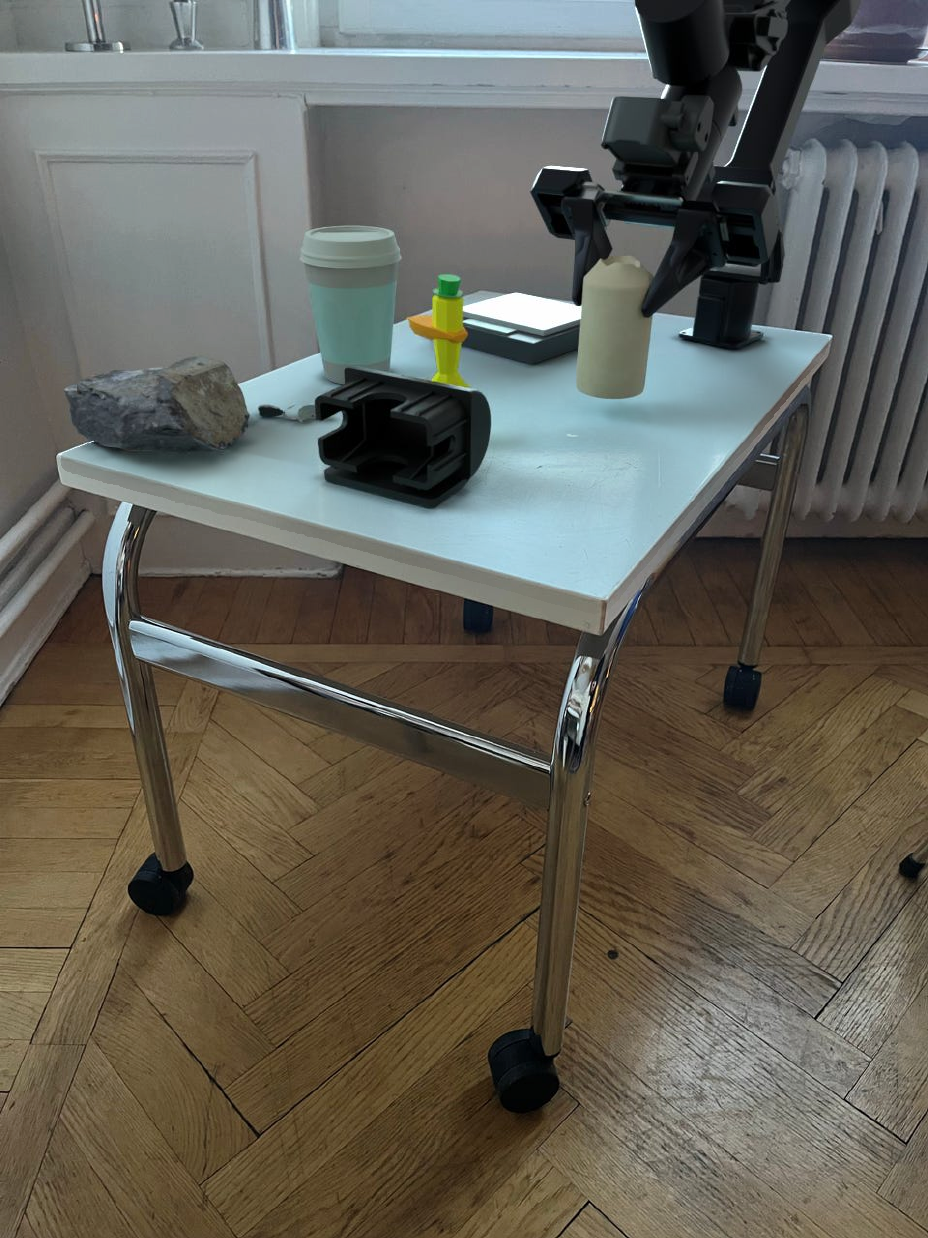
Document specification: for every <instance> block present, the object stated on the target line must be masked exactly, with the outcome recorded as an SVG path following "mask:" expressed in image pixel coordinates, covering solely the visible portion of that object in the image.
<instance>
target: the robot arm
mask: <svg viewBox="0 0 928 1238" xmlns="http://www.w3.org/2000/svg"><path fill="white" fill-rule="evenodd" d="M862 1H863V0H634V7H635V11H636V16H637V19H638V23H639V27H640V30H641V35H642V39H643V42H644V47H645V51H646V55H647V59H648V63H649V67H650V71H651V74H652V78H653V79H654V80H657V81H658V82H660V83H661V84H663V85H666V86H665V87H664V90H663V91H662V95H661V97H650V96H649V97H646V96H628V95H627V96H626V95H625V96H623V95H618V96H614V97H612V99H611V102H610V107H609V111H608V115H607V119H606V123H605V126H604V131H603V134H602V138H601V143H600V147H601V148H602V149H603V150H607V151H609V152H610V154H611V155H612V156H613V157H614V158H615V161H614V164H613V165H612V167H611V171H612V173H613V176H614V179H615V181H621V184H622V186H621V188H620V190H615V189H607V188H604V187H603V185H601V184H599V183H597V182H595V181H593V178H592V175H591V173H590V171H589V169H588V168H579V167H578V168H577V167H566V166H555V165H549V166H545V167H541V169H540V171H539V172H538V174H537V175H536V177H535V179H534V181H533V183H532V186H531V189H530V191H529V193H530V195H531V197H532V199H533V202H534V203H535V206H536V207H537V210H538V212H539V214H540V215H541V216H540V217H541V218H542V220H543V222H544V225H545V227H546V229H547V231H548V233H549V234H551V235H552V236H553V237H555V238H557V239H563V240H570V241H574V260H573V261H574V262H573V263H574V264H573V277H572V292H571V301H572V302H573V305H575V306H578V307H580V306H582V292H583V279H584V276H585V275H586V274H587V273H588V272H589V271H590V270H591V269H592V268H593V267H594V266H595V265H596V264H597V263H598V261H599V260H600V259H603V260H606V259H608V258H609V257H610V255H611V253H612V251H613V249H614V248H613V246H612V244H611V241H610V238H609V235H608V233H607V229H608V227H609V225H610V223H611V221H619V222H624V224H626V225H635V226H643V227H652V228H659V229H669V230H673V233H672V238H671V241H670V243H669V245H668V248H667V249H666V251H665V254H664V256H663V257H662V260H661V262H660V264H659V267H658V268H657V271H656V273H655V275H654V279H653V281H652V283H651V285H650V287H649V289H648V291H647V294H646V297H645V300H644V303H643V306H642V310H641V311H642V314H643V317H644V318H650V317H651V316H652V315H653V316H654V314H656V313H657V312H658V311H659V310H661V308H663V307H664V306H665V305H666V304H668V302H669V301H671V300H672V299H673V298H675V296H677V294H679V293H680V292H681V291H683V289H685V288H686V287H687V286H688V285H689V286H690V284H691V283H693V282H694V281H696V280H697V279H699V278H700V281H699V288H698V294H697V299H696V307H695V313H694V321H693V326H692V327H690V328H687V329H684V330H682V331H679V333H678V338H679V339H684V340H689V341H693V342H698V343H701V344H702V343H703V344H706V345H711V346H717V347H721V348H726V349H730V350H737V349H739V348H742V347H744V346H746V345H748V344H751V343H753V342H755V341H758V340H760V339H763V337H764V334H765V333H764V332H763V331H760V330H755V329H752V326H753V322H754V316H755V311H756V304H757V299H758V292H759V288H760V285H761V286H766V285H768V284H773V283H774V284H775V283H780V282H781V280H782V279H781V278H782V275H783V268H784V261H785V256H786V251H785V244H784V243H785V242H784V233H783V226H782V211H781V206H780V201H779V197H778V190H777V186H776V182H777V180H778V177H779V174H780V172H781V170H782V166H783V163H784V161H785V159H786V156H787V154H788V153H787V152H788V149H789V147H790V144H791V142H792V139H793V136H794V133H795V131H796V128H797V126H798V123H799V119H800V117H801V114H802V111H803V109H804V106H805V103H806V100H807V98H808V95H809V92H810V89H811V87H812V84H813V82H814V80H815V79H814V78H815V76H816V73H817V70H818V68H819V65H820V63H821V59H822V57H823V54H824V52H825V49H826V46H827V45H829V44H830V43H831V42H832V41H833V40H835V39H836V38H837V37H838V36H840V35H841V33H843V32H845V30H846V29H848V28H849V27H850V26H851V25H852V23H854V22H853V21H854V20H855V17H856V14H857V13H858V11H859V8H860V5H861V3H862ZM761 71H763V72H762V74H761V77H760V80H759V83H758V86H757V89H756V91H755V94H754V96H753V99H752V101H751V105H750V107H749V110H748V113H747V115H746V118H745V121H744V124H743V126H742V128H741V131H740V134H739V136H738V140H737V142H736V145H735V149H734V151H733V153H732V156H731V159H730V160H729V162H728V163H726V164H725V165H715V164H714V161H715V158H716V155H717V154H718V151H719V148H720V146H721V145H722V141H723V139H724V137H725V135H726V132H727V130H728V127H731V128H733V127H736V126H737V125H738V124H739V123H738V122H739V114H740V110H739V102H740V100H741V98H742V94H743V82H742V79H741V75H740V74H739V72H749V73H750V72H751V73H753V72H754V73H760V72H761ZM759 265H760V266H759Z"/></svg>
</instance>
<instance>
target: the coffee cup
mask: <svg viewBox="0 0 928 1238" xmlns="http://www.w3.org/2000/svg"><path fill="white" fill-rule="evenodd" d="M299 252H300V257H299V261H300V262H302V263H303V264H304V271H305V276H306V283H307V286H308V287H307V288H308V292H309V299H310V303H311V309H312V314H313V319H314V320H313V321H314V326H315V332H316V336H317V341H318V349H319V352H320V358H321V363H322V368H323V374H324V377H325V379H326V380H327V381H329V382H331V383H335V384H338V385H344V384H345V373H344V370H345V368H347V367H351V366H357V367H363V368H368V369H373V370H378V371H383V372H388V373H391V372H390V371H391V358H392V346H393V335H394V323H395V322H394V321H395V309H396V294H397V284H398V283H397V282H398V269H399V262H400V261H401V260H402V258H403V256H402V255H401V248H400V247H399V245H398V241H397V238H396V233H395V232H394V231H393V230H391V229H387V228H384V227H378V226H369V225H368V226H367V225H334V226H323V227H317V228H313V229H310V230H307V231H306V232H305V233H304V235H303V241H302V246H301V247H300V251H299Z"/></svg>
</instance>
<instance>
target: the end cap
mask: <svg viewBox="0 0 928 1238" xmlns="http://www.w3.org/2000/svg"><path fill="white" fill-rule="evenodd" d="M344 373H345V384H344V385H343V384H340V386H339V385H338V386H337V387H334V388H333V389H331V390H329V391H326V392H325V393H322V394H320V395H318V396H317V397H316V398H315V399H314V405H315V413H316V417H315V421H318V422H323V421H325V420H326V419H328V418H331V417H333V416H334V415H337V414H338V413H341V414H342V421H341V423H340V426H339V427H337V428H335V429H333V430H331V431H330V432H328V433H325V434H323V435H322V436H320V437H318V438H317V447H318V457H319V459H320V461H321V462H322V463H323V464H324V465H326V466H329V467H327V468H325V469H324V470H323V476H324V481H326V482H328V483H333V484H335V485H336V484H337V485H339V486H344V487H347V488H351V489H355V490H359V491H362V492H367V493H370V494H374V495H378V496H381V497H386V498H389V499H393V500H397V501H400V502H404V503H409V504H411V505H415V506H419V507H424V508H429V509H433V508H437V507H438V506H440V505H441V504H442V503H444V502H445V501H447V500H448V499H450V498H451V497H452V496H454V495H455V494H456V493H458V492H460V491H461V490H462V489H463V488H464V487H465V486H466V485H467V483H469V480H470V479H472V477H473V476H475V474H476V473H477V471H478V470H479V468H480V466H481V465H482V464H483V461H484V459H485V456H486V454H487V451H488V449H489V448H488V447H489V444H490V439H491V433H492V412H491V407H490V404H489V401H488V399H487V396H486V395H485V394H484V393H483V392H482V391H480V390H479V389H476V388H472V387H471V388H472V389H471V388H466V387H460V386H455V385H450V384H445V383H440V382H435V381H431V380H429V379H425V378H420V377H414V376H408V375H404V374H398V373H393V372H389V373H388V372H383V371H378V370H373V369H368V368H363V367H357V366H351V367H347V368H345V370H344Z"/></svg>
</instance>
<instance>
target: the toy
mask: <svg viewBox="0 0 928 1238" xmlns="http://www.w3.org/2000/svg"><path fill="white" fill-rule="evenodd" d="M295 405H296V403H295V404H294V405H290V406H289V407H287V408H286V409H285V410H284V409H282V408H280V407H278V406H275V405H272V404H259V405H258V406H257V407H258V408H257V411H258V415H259V416H260V417H263V418H273V417H280V416H282V418H285V419H288V420H291V421H295V420H298V421H299V422H300V423H301V424H303V423H304V420H306V419H309V418H316V413H315V404H305V405H303V406H301V407H300V408H298V409H297V415H296V416H297V417H291V416H289V415H287V412H286V411H288V410H290V409H291V408H293V407H294V406H295Z"/></svg>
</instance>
